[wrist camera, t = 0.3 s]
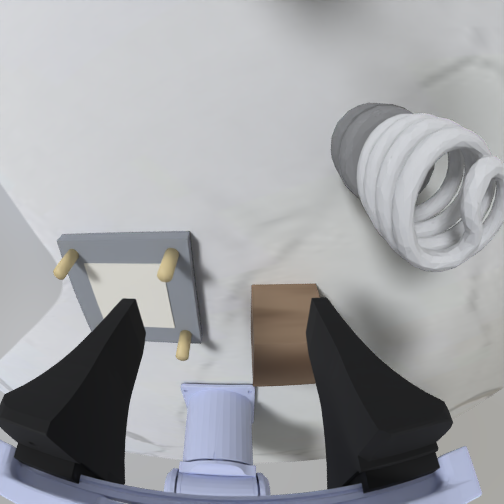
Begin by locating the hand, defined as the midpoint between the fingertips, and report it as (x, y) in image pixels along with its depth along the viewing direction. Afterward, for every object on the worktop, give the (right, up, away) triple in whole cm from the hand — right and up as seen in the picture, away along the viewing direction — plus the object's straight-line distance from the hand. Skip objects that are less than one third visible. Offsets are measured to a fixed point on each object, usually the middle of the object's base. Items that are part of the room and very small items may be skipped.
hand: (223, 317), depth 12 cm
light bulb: (+8, +10, +5) cm, 14 cm away
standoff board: (-8, 0, +11) cm, 14 cm away
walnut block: (+4, -2, +13) cm, 13 cm away
